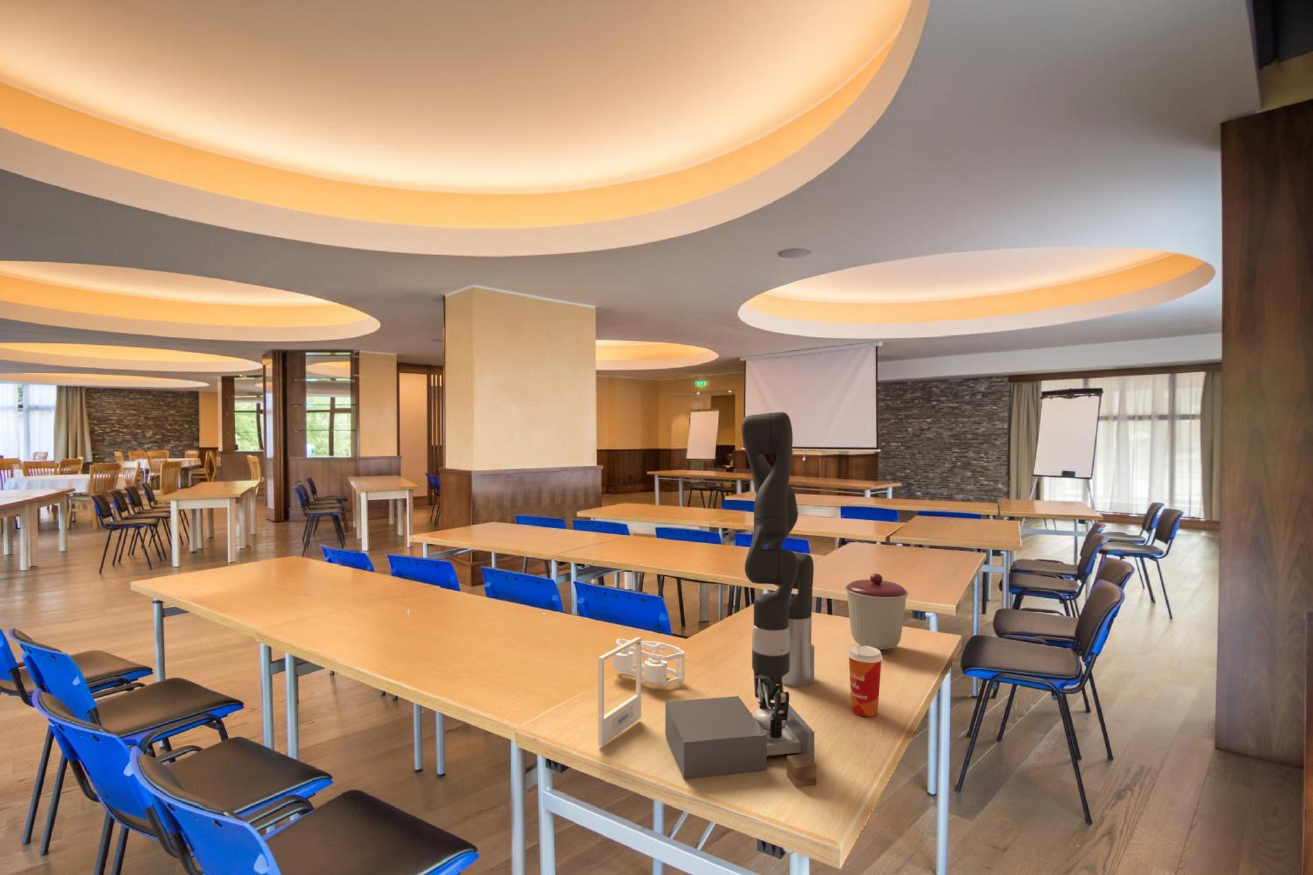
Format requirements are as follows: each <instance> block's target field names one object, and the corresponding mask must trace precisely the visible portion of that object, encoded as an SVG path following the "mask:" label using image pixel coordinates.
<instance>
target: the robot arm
mask: <svg viewBox="0 0 1313 875" xmlns="http://www.w3.org/2000/svg"><path fill="white" fill-rule="evenodd" d="M741 436H742V442H743V446H744V449H745V453H746V456H747V459H748V464H749V466H750V472H751V474H752V478H753V484H754V488H755V497H754V498H755V499H754V504H753V532H752V533H753V534H752V539H751V543H750V547H749V548H748V551H747V556H746V558H745V564H744V573H745V576H746V578H747V580H749V581H750V582H751V583H752V584H758V585H763V584H764V585H773V586H776V587H777V589H776V590H774V591H772V592H767V593H766V592H765V593H762V594H759V595H756V597H755V598H754V600H753V628H752V636H751V652H752V653H751V669H752V670H753V682H754V684H753V686H754V697H755V698H756V699H757V703H758V705H759V706H758V709H763V708H769V712H770V736H771V737H772V738H773V739H774V738H781V737H782V721H783V720H787V718H788V707H789V705H790V692H789V691H784V690H785V688H784V686H786V687H787V686H788V687H798V688H799V687H804V686H809V685H810V684H814V683H815V645H813V643H812V621H813V620H812V614H813V610H812V609H813V608H812V607H813V586H814V573H815V566H814V560H813V557H812V556H811V554H808V553H802V552H801V553H800V552H793V551H792V550H791V549H786V548H783V544H784V542H785V540H786V539H787V537H788V536H789V535H790V534H791V532H792V530H793V529H794V527H795V526H796V523H797V521H798V517H799V511H798V510H799V509H798V503H797V498H796V494H795V491H794V489H793V488H792V486H791V485H790V474H791V467H792V466H791V465H792V453H793V442H794V441H793V438H794V437H793V426H792V421H791V418H790V416H789V414H788V413H786V412H783V411H775V412H767V413H765V412H764V413H758V414H750V415H747V416H745V417H743V419H742V422H741ZM767 454H768V455H770V454H776V457H775V462H774V464H773V465H772V466H771V465H770V463H768V460H767V459H766V456H765V455H767ZM765 547H766V548H765ZM793 590H797V594H796V595H794V596H792V592H793ZM774 700H775V702H772V701H774ZM773 708H774V710H773Z"/></svg>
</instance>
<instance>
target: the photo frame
mask: <svg viewBox="0 0 1313 875" xmlns="http://www.w3.org/2000/svg"><path fill="white" fill-rule="evenodd" d="M641 641H642V636H641V637H640V636H636V637H634V638H633V639H631V640H630V641H629V642H627V643H625V644H622V645H621V646H619V647H616V648H614V649H611V650H610V651H608V652H607V653H604V654H602V655H600V656H599V657H598V670H597V671H598V672H597V673H598V678H597V679H598V687H597V688H598V690H597V691H598V703H597V704H598V706H597V709H598V711H597V713H598V716H597V718H598V723H597V724H598V727H597V728H598V729H597V730H598V733H597V734H598V735H597V736H598V738H597V739H598V741H597V742H598V746H600V747H604V746H605V745H606V744H607V743H609V742H610V741H612V740H613V739H614V738H616V737H617V736H618V735H620V734H621V733H622V732H624V731H625V730H627V729H628V728H629V727H631V726H632V725H633V724H635V723H636V722H638V721H639V720H640V719H641V718H642V680H641V650H642V647H641ZM634 644H636V647H635V648H636V653H635V658H636V659H635V660H636V661H635V664H636V669H635V672H636V677H635V679H636V680H635V694H634V695H633V696H631V697H630V698H628V699H626V700H625V701H624V702H622V703H620V704H619V705H618V706H616V707H615V708H613V709H612V710H610V711H608V712H607V713H605V661H606V660H608V659H610V658H611V657H612V658H613V656H614V655H615V654H617V653H619V652H621V651H623V650H625V649H627V648H628V647H633V646H632V645H634Z"/></svg>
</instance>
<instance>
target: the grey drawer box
mask: <svg viewBox="0 0 1313 875" xmlns="http://www.w3.org/2000/svg"><path fill="white" fill-rule="evenodd" d="M664 703H665V704H664V705H665V712H664V713H665V714H664V715H665V716H664V718H665V719H664V720H665V726H664V728H665V729H664V730H665V732H664V733H665V734H664V735H665V738H666V740H667V742H668V745H669V747H670V749H671V752H672V754H673V757H674V759H675V762H676V764H677V766H678V769H679V772H680V774H681V777H682V779H683V780H684V781H685V780H693V779H701V778H703V779H705V778H710V777H721V776H729V775H738V774H748V773H756V772H765V771H766V772H767V770H768V768H767V767H768V766H767V760H768V758H767V757H768V756H767V734H766V733H765V732H764V730H763V729H762V727H761V726H760V725H759V723H758V722H757V721H756V719H755V716H754V715H753V714H752V713H751V711H750V710H749V709H748V708H747V705H746V704H745V703H744V702H743V700H742V699H741V698H740V697H739V695H735V696H725V697H723V696H722V697H711V698H710V697H709V698H700V699H687V700H673V701H665V702H664Z"/></svg>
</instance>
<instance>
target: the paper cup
mask: <svg viewBox="0 0 1313 875" xmlns="http://www.w3.org/2000/svg"><path fill="white" fill-rule="evenodd" d="M846 656H848V665H849V666H848V667H849V686H850V687H849V688H850V689H849V690H850V703H851V712H853V713H854V714H855V715H858V716H860V717H865V718H872V717H875V716H877V714H878V709H879V697H880V683H881V673H882V672H881V670H882V661H883V659H884V658H883V656H882V652H881V650H879V649H876V648H874V647H870V646H861V645H853V646H851V647H849V650H848V651H847V655H846Z"/></svg>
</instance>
